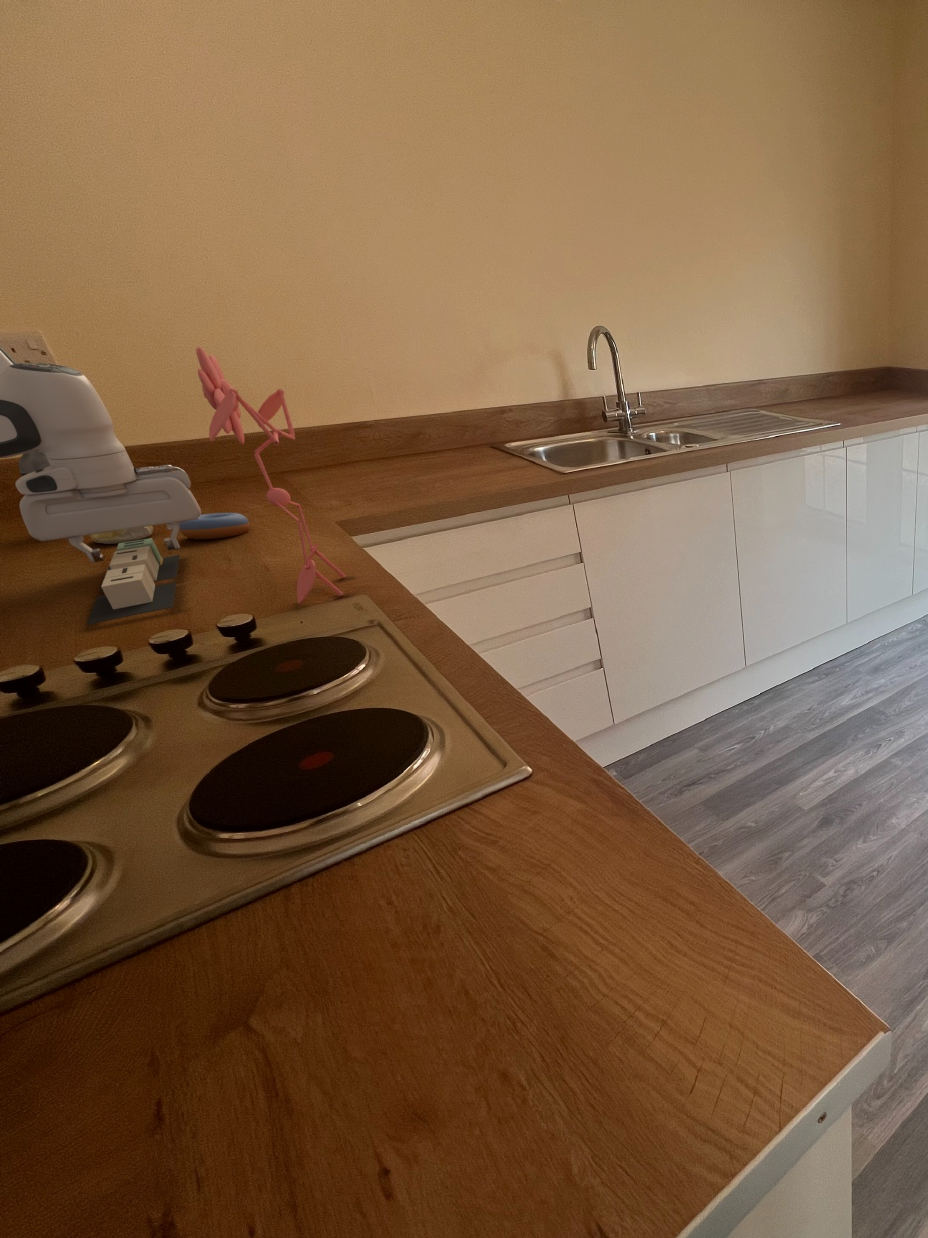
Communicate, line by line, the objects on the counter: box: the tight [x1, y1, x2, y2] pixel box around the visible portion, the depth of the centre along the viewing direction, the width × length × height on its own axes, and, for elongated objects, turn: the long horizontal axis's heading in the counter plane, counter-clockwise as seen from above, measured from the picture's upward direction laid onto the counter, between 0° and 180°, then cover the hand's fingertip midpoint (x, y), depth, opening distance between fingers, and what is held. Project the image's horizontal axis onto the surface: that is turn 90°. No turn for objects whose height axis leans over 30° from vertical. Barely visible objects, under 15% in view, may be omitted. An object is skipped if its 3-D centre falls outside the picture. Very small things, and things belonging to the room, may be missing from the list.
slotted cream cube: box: [108, 553, 158, 582], centre depth 110 cm, size 4×4×4 cm
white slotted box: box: [100, 572, 154, 609], centre depth 102 cm, size 4×4×4 cm
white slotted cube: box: [104, 564, 156, 593], centre depth 105 cm, size 4×4×4 cm
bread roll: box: [89, 526, 154, 545], centre depth 132 cm, size 8×9×4 cm
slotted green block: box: [116, 537, 162, 564], centre depth 117 cm, size 4×4×4 cm
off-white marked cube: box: [112, 546, 159, 573], centre depth 113 cm, size 4×4×4 cm
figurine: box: [195, 346, 353, 604], centre depth 98 cm, size 15×26×35 cm, turn 32°
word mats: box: [85, 554, 180, 625], centre depth 109 cm, size 9×31×1 cm, turn 40°
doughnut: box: [179, 512, 250, 541], centre depth 132 cm, size 10×10×5 cm
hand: (137, 554), depth 117 cm, fingers open, 8 cm apart
